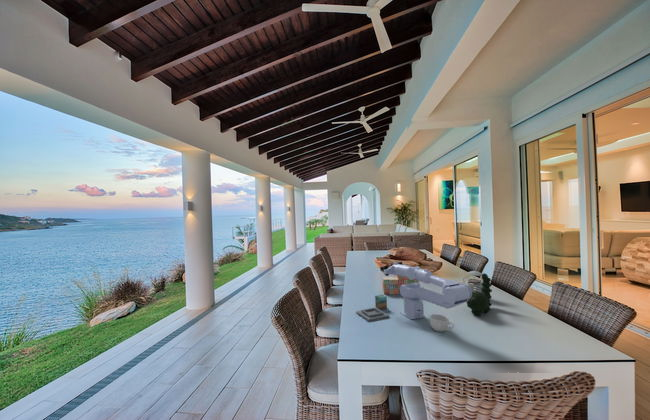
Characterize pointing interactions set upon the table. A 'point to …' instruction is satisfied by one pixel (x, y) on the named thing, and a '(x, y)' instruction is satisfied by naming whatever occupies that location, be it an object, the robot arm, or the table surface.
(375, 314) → the plate
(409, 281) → the stack of blocks
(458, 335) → the table surface
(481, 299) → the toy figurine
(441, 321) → the teacup
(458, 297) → the robot arm
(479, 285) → the french press
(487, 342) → the table surface
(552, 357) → the table surface
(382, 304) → the block stack
